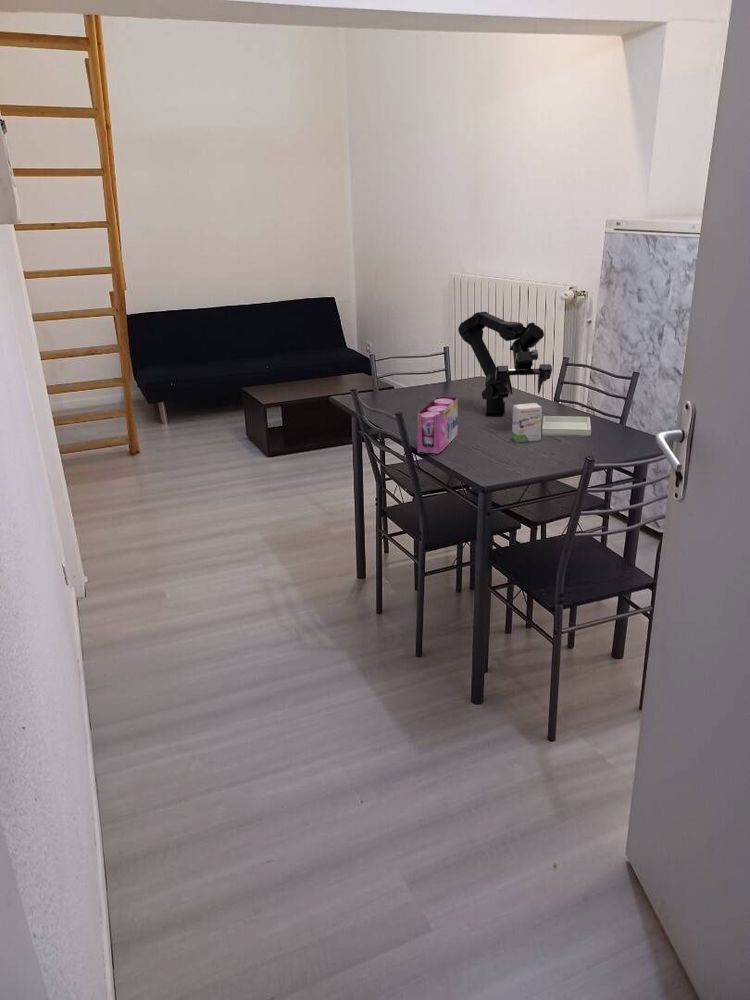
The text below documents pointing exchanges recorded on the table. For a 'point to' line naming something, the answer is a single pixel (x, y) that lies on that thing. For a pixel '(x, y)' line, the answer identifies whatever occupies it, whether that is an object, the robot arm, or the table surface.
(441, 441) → the gum box
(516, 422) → the ink box
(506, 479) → the table surface
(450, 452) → the table surface
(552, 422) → the tray
